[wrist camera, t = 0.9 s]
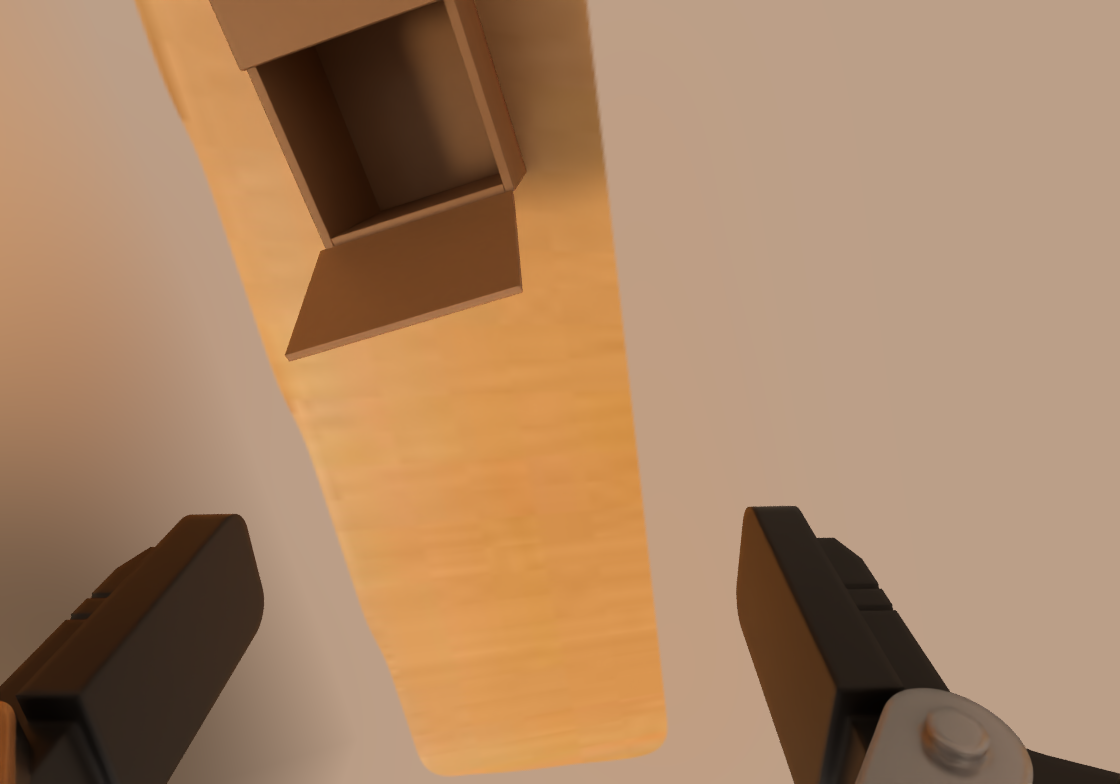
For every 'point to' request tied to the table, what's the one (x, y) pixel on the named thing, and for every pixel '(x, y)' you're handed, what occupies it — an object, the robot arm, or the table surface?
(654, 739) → the table surface
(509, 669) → the table surface
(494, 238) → the flap
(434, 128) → the carton
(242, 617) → the robot arm
